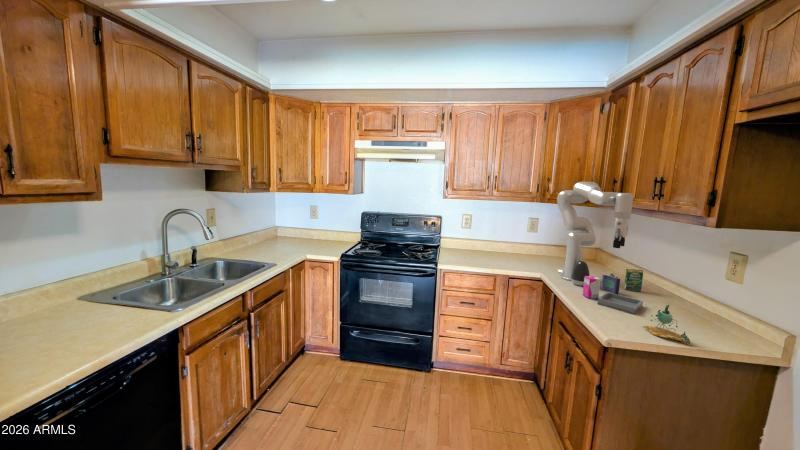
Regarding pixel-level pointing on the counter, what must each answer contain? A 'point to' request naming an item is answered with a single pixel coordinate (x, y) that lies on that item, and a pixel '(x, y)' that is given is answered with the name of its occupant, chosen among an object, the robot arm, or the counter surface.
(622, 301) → the tray
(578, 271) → the dark grey domed cylinder
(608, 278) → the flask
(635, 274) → the coffee box
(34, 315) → the counter surface
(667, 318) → the frog figurine
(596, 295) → the supplement box
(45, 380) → the counter surface
